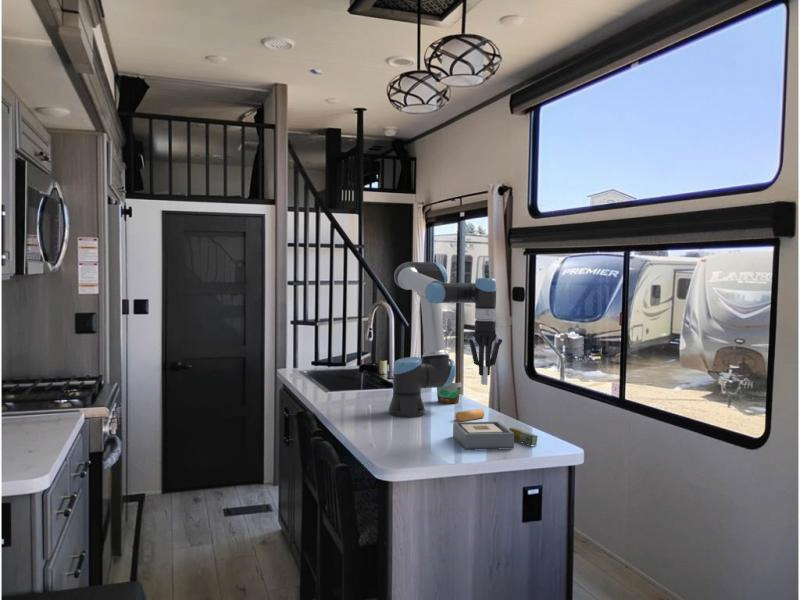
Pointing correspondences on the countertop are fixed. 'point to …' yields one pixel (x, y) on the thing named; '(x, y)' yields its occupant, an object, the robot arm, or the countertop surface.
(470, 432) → the box
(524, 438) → the medication box
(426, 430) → the countertop surface
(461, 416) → the peg
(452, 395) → the food container
